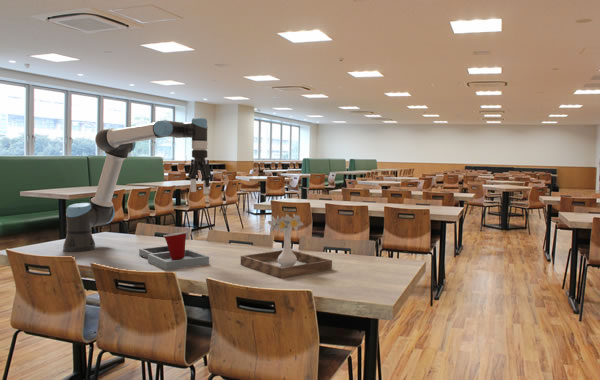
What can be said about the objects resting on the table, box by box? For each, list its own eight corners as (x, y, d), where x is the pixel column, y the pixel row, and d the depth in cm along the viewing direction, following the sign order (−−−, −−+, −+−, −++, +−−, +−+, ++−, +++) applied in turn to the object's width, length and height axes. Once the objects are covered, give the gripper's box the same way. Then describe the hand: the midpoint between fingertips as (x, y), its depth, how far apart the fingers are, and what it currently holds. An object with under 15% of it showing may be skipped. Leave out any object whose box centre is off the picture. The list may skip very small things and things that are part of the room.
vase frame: (240, 264, 224) (240, 255, 223) (288, 257, 241) (288, 249, 240) (281, 278, 199) (282, 268, 199) (331, 269, 216) (332, 260, 216)
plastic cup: (178, 255, 237) (175, 230, 236) (194, 256, 230) (191, 230, 230) (160, 260, 228) (157, 234, 227) (176, 261, 222) (174, 234, 221)
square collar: (139, 254, 242) (139, 248, 242) (168, 251, 252) (168, 245, 251) (151, 260, 230) (151, 254, 230) (182, 256, 240) (182, 250, 239)
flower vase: (276, 262, 230) (276, 211, 228) (309, 266, 221) (310, 214, 219) (261, 267, 219) (261, 214, 217) (295, 272, 210) (296, 216, 209)
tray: (148, 261, 227) (148, 254, 227) (188, 256, 240) (188, 249, 239) (166, 270, 211) (166, 262, 211) (209, 264, 224) (209, 256, 223)
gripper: (219, 149, 234) (219, 194, 236) (194, 149, 254) (195, 191, 255) (204, 149, 230) (204, 194, 231) (181, 149, 249) (181, 191, 251)
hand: (199, 192), depth 243 cm, fingers open, 13 cm apart
